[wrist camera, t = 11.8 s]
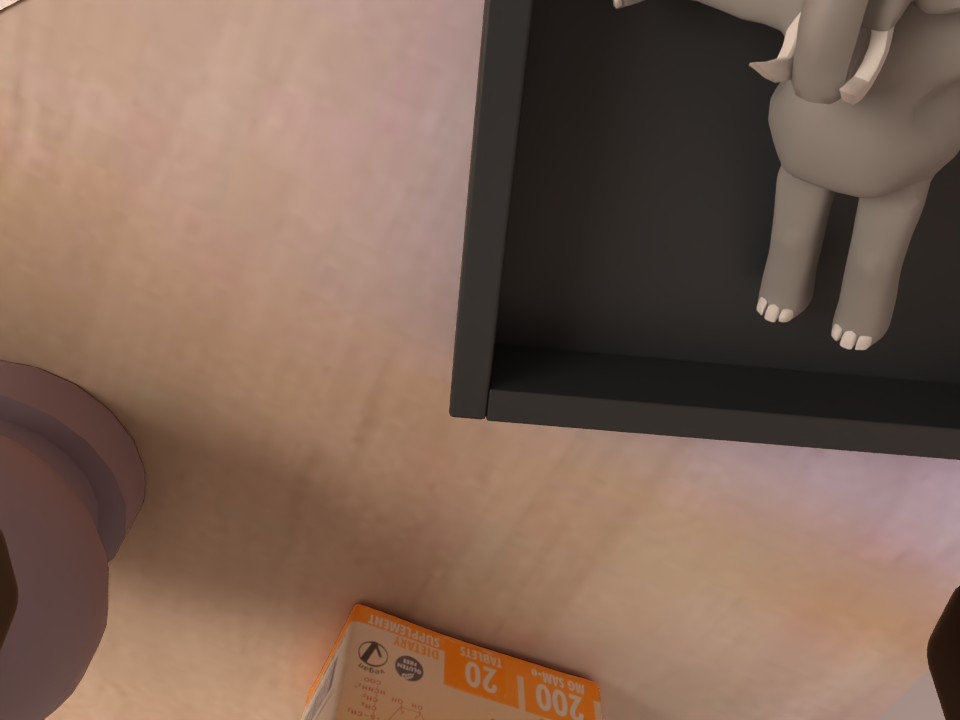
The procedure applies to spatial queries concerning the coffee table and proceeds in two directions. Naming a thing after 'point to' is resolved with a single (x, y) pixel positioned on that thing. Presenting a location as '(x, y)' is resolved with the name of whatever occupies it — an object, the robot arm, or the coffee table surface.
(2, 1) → the cream square coaster
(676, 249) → the tray
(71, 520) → the cat figurine
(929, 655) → the robot arm
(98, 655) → the coffee table surface
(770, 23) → the elephant figurine
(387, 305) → the coffee table surface
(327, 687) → the supplement box
